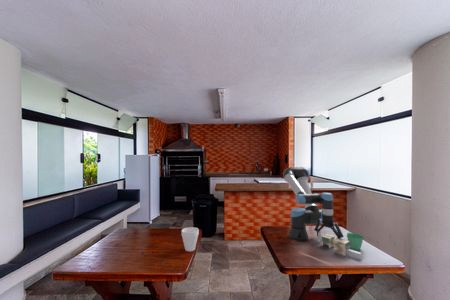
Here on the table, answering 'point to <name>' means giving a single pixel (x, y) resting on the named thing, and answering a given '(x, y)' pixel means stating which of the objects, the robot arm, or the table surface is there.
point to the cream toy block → (341, 246)
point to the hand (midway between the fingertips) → (328, 243)
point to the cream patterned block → (327, 240)
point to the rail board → (353, 255)
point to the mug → (355, 240)
